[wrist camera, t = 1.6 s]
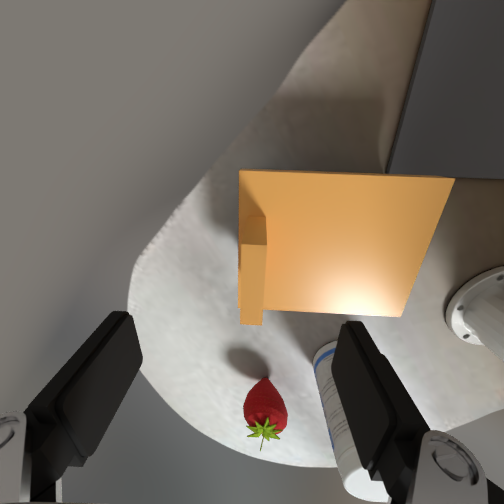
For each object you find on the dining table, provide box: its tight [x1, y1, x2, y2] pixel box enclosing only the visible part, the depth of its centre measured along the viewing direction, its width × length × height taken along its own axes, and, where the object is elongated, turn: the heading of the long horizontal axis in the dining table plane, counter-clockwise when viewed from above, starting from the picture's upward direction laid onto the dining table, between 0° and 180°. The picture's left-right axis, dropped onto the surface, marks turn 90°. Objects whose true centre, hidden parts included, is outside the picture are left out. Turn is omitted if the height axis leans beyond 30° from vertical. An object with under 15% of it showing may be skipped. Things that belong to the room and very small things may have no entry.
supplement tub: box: [313, 340, 389, 502], centre depth 29 cm, size 10×10×15 cm
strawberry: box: [243, 378, 288, 451], centre depth 34 cm, size 6×8×10 cm
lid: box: [238, 168, 455, 325], centre depth 18 cm, size 16×13×8 cm
